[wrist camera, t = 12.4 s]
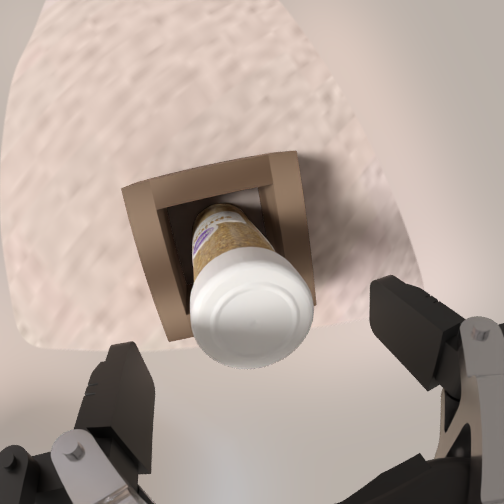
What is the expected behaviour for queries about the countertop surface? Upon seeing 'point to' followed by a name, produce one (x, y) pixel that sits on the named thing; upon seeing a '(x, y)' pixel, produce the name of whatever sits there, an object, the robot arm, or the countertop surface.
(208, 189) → the frame
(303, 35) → the countertop surface
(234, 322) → the sprinkles bottle
